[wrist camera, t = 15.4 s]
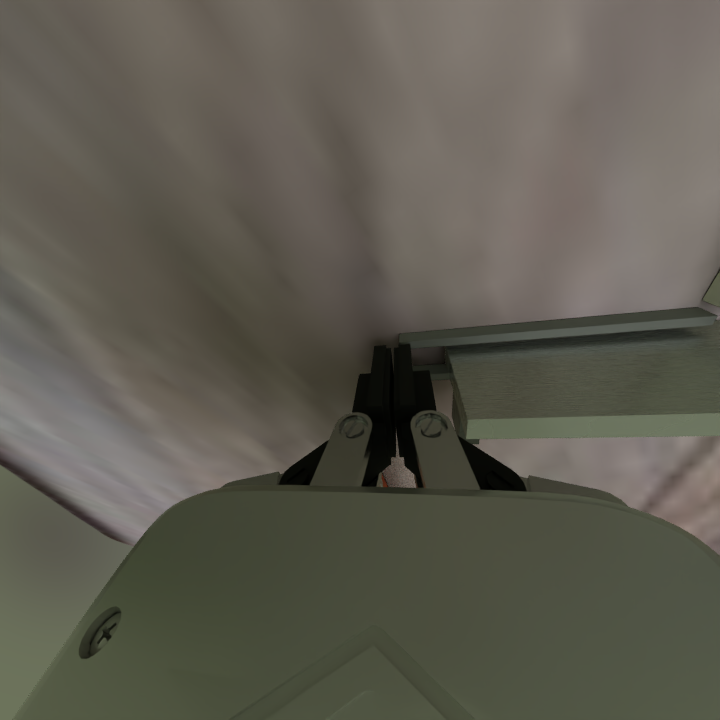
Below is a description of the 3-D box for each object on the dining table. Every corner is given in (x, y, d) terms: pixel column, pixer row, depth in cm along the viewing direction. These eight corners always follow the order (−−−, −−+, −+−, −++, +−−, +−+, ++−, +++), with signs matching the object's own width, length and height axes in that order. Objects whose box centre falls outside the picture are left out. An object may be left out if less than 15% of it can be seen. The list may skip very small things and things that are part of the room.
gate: (444, 383, 14) (463, 465, 10) (444, 342, 13) (467, 419, 9) (715, 368, 12) (882, 468, 8) (753, 317, 10) (981, 406, 6)
